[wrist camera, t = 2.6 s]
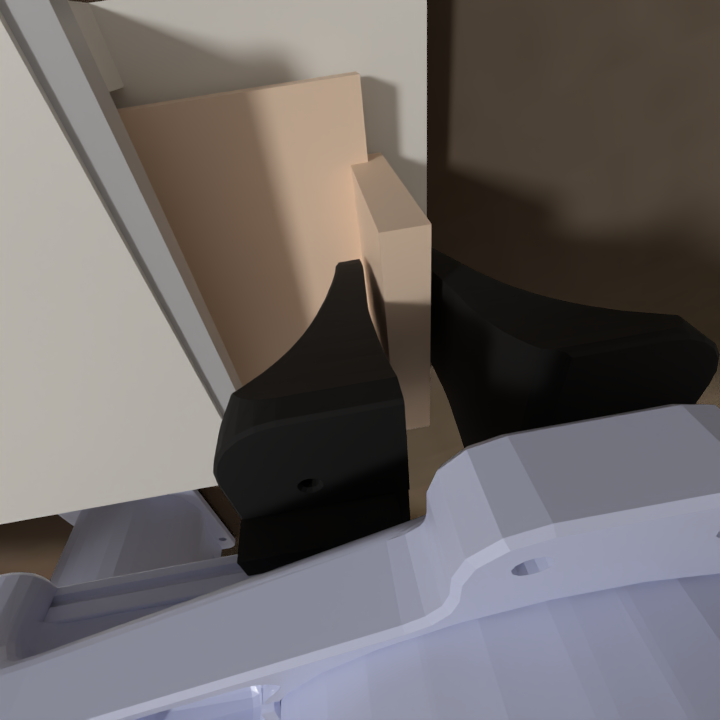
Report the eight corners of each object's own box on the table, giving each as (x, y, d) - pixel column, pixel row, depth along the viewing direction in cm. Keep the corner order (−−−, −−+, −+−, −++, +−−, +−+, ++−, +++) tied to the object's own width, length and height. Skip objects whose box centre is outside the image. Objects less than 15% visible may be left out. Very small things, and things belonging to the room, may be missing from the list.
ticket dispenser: (421, 361, 19) (452, 443, 15) (18, 432, 19) (-52, 533, 15) (417, -43, 10) (492, -88, 6) (-384, 80, 9) (-839, 112, 6)
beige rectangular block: (395, 354, 17) (429, 464, 12) (14, 420, 16) (-83, 556, 12) (374, 68, 10) (432, 95, 6) (-267, 169, 10) (-698, 276, 5)
